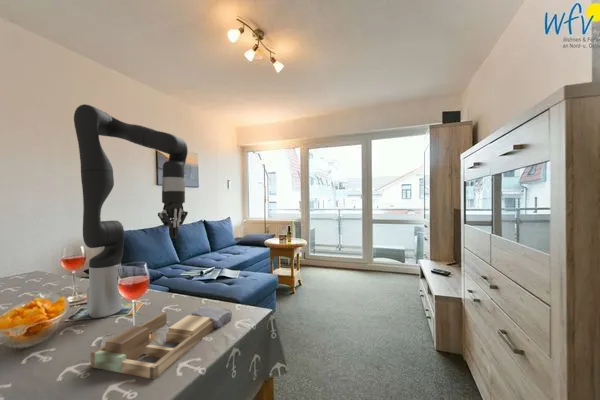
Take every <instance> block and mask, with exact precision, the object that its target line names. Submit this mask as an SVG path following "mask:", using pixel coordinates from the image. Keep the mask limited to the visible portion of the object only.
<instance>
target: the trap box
mask: <svg viewBox="0 0 600 400" xmlns="http://www.w3.org/2000/svg"><path fill="white" fill-rule="evenodd" d="M167 316H168V315H167V311H165V312H161V313H159V314H158V315H156V316H154V317H152V318H151V319H149V320H147V321H144V322H143V323H141V324H139V325H138V326H139V327H147V328H149V333H150V334H152V333H154V332H155V331H157V330H158V329H160V328H161V327H163V326H165V325H166V324H167ZM213 330H214V328H213V321H210V317H201V316H192V314H188V315H186V316H184V317H183V318H181V319H180V320H178V321H177V322H175V323H174V324H172V325H171V326H169V327H168V331H167V332H166V333H165V338H166V339H165V343H164V344H163V345H161V346H160V345H155V344H149V345H147V346H146V352H145V358H143V359H142V360H136V359H135V360H129V359H126V355H125V354H119V353H113V352H107V351H105V347H106V343H105V344H103V345H102V346H100V347H98V348H97V349H95V350H93V351H91V352H90V368H94V369H100V370H105V371H110V372H115V373H121V374H126V375H130V376H136V377H142V378H147V379H152V380H156V378H158V377H159V376H160V375H161V374H162V373H163V372H165V370H167V369H168V368H169V367H170V366H171V365H173V364H174V363H175V362H176V361H178V360H179V359H180V358H181V357H182V356H183V355H184V354H186V353H187V352H188V351H189V350H191V348H193V347H194V346H195V345H197V343H199V341H201V340H202V339H203V338H204V337H206V335H208V334H209V333H210V332H212V331H213ZM151 332H152V333H151ZM166 341H167V342H166Z"/></svg>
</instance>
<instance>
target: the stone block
mask: <svg viewBox="0 0 600 400" xmlns="http://www.w3.org/2000/svg"><path fill="white" fill-rule="evenodd" d="M191 315H192V316H201V317H210V321H213V329H217V330H218V329H219V328H221V327H222V326H224V325H225V324H226V323H229V322H230V321H231V319H232V316H233V313H232V310H231V309H230V308H229V309H228V308H223V309H222V308H219V307H217V306H214V305H210V304H207V305H203V306H201V307H198V308H196V309H194V310H193V311H192V312H191Z"/></svg>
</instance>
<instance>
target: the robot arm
mask: <svg viewBox="0 0 600 400" xmlns="http://www.w3.org/2000/svg"><path fill="white" fill-rule="evenodd" d="M73 123H74V129H75V133H76V139H77V144H78V151H79V152H78V154H79V160H80V178H81V187H82V188H81V189H82V201H83V202H82V203H83V211H82V212H83V213H82V238H83V242H84V245H85V246H86V247H87V248H89V249H97V248H103V247H104V248H103V250H102V251H101V252H100V253H98V254H96V255H95V256H93V257H91V258H90V259H89V262H88V264H89V265H88V275H89V276H88V287H87V289H86V296H87V297H86V305H87V306H86V314H89V315H88V317H89V316H90V318H93V319H96V318H104V317H108V316H113V315H115V314H118V312H120V311H121V310H122V293H121V294H120V293H119V291H118V288H117V277H118V269H119V267H120V266H121V267H122V259H123V255H124V245H125V244H124V240H125V230H124V225H123V224H122V222H120V221H119V220H101V213H102V208H103V206H104V203H105V201H106V200H107V198H108V197H109V196H110V194H111V192H112V190H113V188H114V185H115V178H114V170H113V166H112V163H111V161H110V159H109V158H108V156H107V154H106V153H105V150H104V149H103V147H102V145H101V141H100V136H101V137H102V136H103V137H111V138H118V139H122V140H125V141H128V142H130V143H132V144H136V145H139V146H141V147H144V148H148V149H152V150H156V151H159V152H162V153H165V154H167V155H169V156H168V160H167V161H165V162H163V165H162V180H161V202H162V203H163V207H162V211H160V212H157V217H159V220H160V221H161V222H162V224H163V225H164V227H168V232H169V233H168V236H169V238H171V239H175V238H178V237H179V227H180V226H183V223H184V221H185V220H186V218H187V217H188V214H189V213H188V211H185V210H184V203H186V189H185V188H186V183H185V164H186V162H187V157H188V145H187V142H186V141H185V140H184V139H182V138H180V137H178V136H176V135H174V134H172V133H169V132H165V131H160V130H156V129H153V128H149V127H147V126H143V125H139V124H133V123H132V124H131V123H127V122H123V121H121V120H119V119H118V118H116V117H113V116H112V115H110V114H108V113H107V111H103V110H101V109H99V108H97V107H94V106H92V105H91V104H90V105H89V104H85V103H84V104H80V105H79V106H78V107H76V109H75V111H74V114H73Z"/></svg>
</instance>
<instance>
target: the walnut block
mask: <svg viewBox="0 0 600 400" xmlns="http://www.w3.org/2000/svg"><path fill="white" fill-rule="evenodd" d="M139 326H140V325H133V326H131V327H130V328H128V329H125V330H124V331H122V332H121V333H118V334H116V335H115V336H113V337H111V338H109V339H107V340H106V341H105V344H106V347H105V351H107V352H113V353H119V354H125V355H126V359H129V360H135V361H136V360H137V359H139V358H140V357H141V356H143V355H144V354H146V346H147V345H150V334H149V328H147V327H139Z"/></svg>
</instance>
